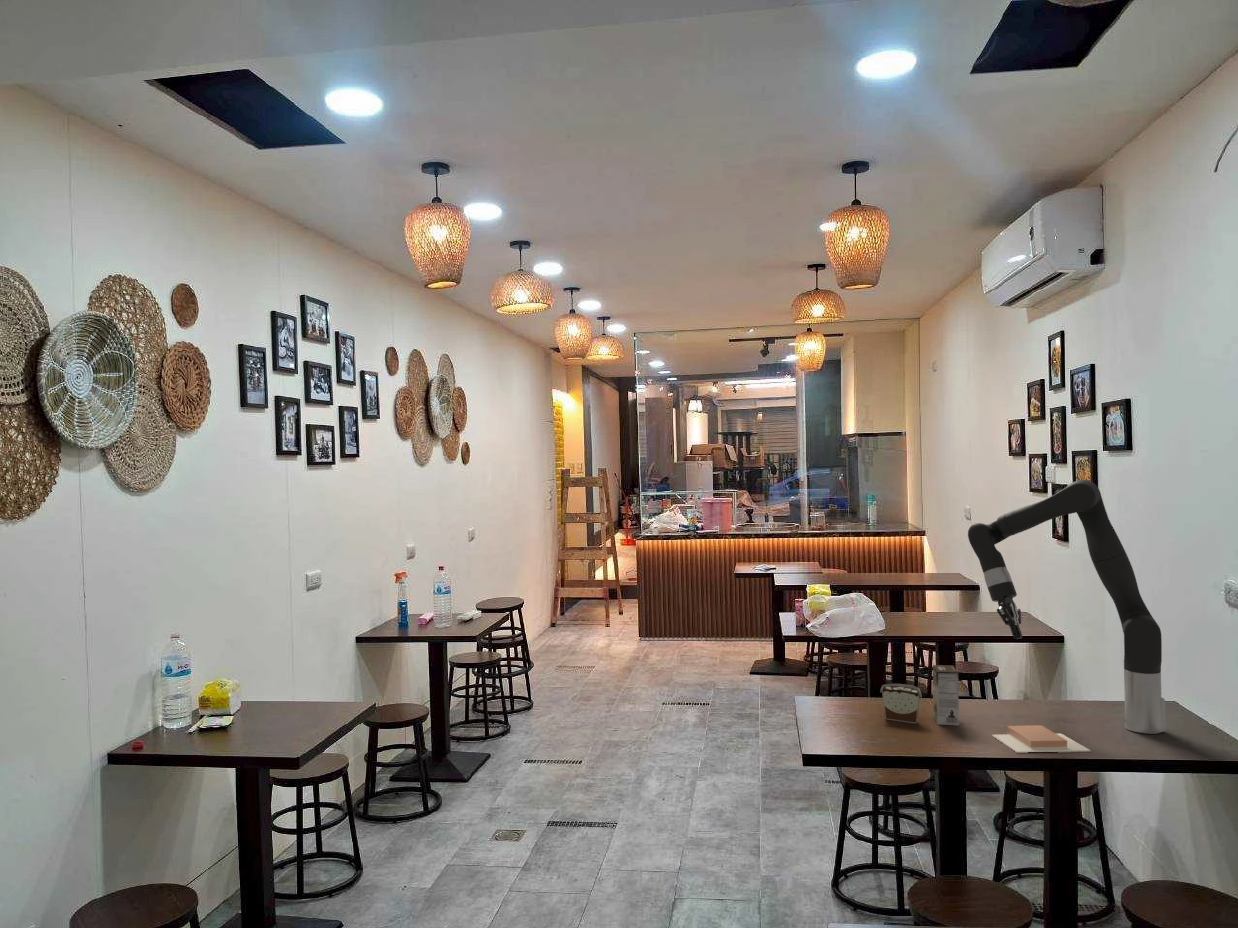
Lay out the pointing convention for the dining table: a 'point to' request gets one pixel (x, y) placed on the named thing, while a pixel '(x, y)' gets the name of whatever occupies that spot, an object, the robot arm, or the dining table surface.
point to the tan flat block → (1037, 736)
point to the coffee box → (945, 695)
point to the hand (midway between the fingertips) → (1018, 638)
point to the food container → (901, 702)
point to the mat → (1022, 748)
